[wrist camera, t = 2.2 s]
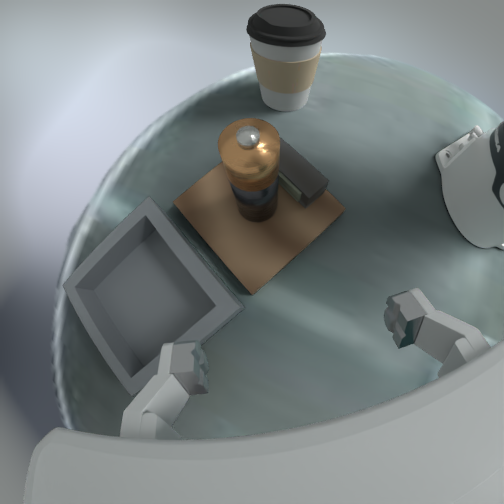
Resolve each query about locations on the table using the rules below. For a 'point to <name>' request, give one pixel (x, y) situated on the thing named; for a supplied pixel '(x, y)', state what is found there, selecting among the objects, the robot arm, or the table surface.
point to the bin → (147, 294)
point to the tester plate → (267, 232)
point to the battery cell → (252, 166)
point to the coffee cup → (285, 53)
